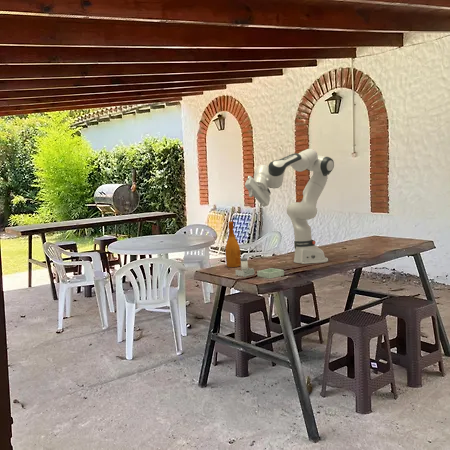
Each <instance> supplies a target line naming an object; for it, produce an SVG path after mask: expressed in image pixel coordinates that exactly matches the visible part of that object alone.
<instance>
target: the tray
mask: <svg viewBox="0 0 450 450" xmlns="http://www.w3.org/2000/svg"><path fill="white" fill-rule="evenodd" d="M256 272H257V277H259V278H265V279H273V278H278V277H284V276H285V270H284V269H280V268H273V267H269V268H266V269H260V270H257V271H256Z"/></svg>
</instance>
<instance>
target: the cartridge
mask: <svg viewBox="0 0 450 450" xmlns="http://www.w3.org/2000/svg"><path fill="white" fill-rule="evenodd" d="M248 268H249V264H248V258H247V257H241V265H240V269H241V270H248Z"/></svg>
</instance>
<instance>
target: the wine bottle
mask: <svg viewBox="0 0 450 450" xmlns="http://www.w3.org/2000/svg"><path fill="white" fill-rule="evenodd" d="M227 224H228V229H229V230H228V232H229V233H228V238H227V241H226V243H225V244H226V245H225V248H224V249H225V251H224V252H225V261H226V266H227V267H228V268H239V267H241V258H242V257H241V247H240V244H239V242H238V238H237V236H236V235H235V233H234V222H233V221H228V223H227Z"/></svg>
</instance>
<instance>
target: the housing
mask: <svg viewBox="0 0 450 450" xmlns="http://www.w3.org/2000/svg"><path fill="white" fill-rule="evenodd" d="M237 275H238V277H242V276H243V277H244V278H246V277H250V276H254V275H255V269H254V268H252V267H251V268H250V267H248V270H241V268H237V269H235V276H237Z"/></svg>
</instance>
